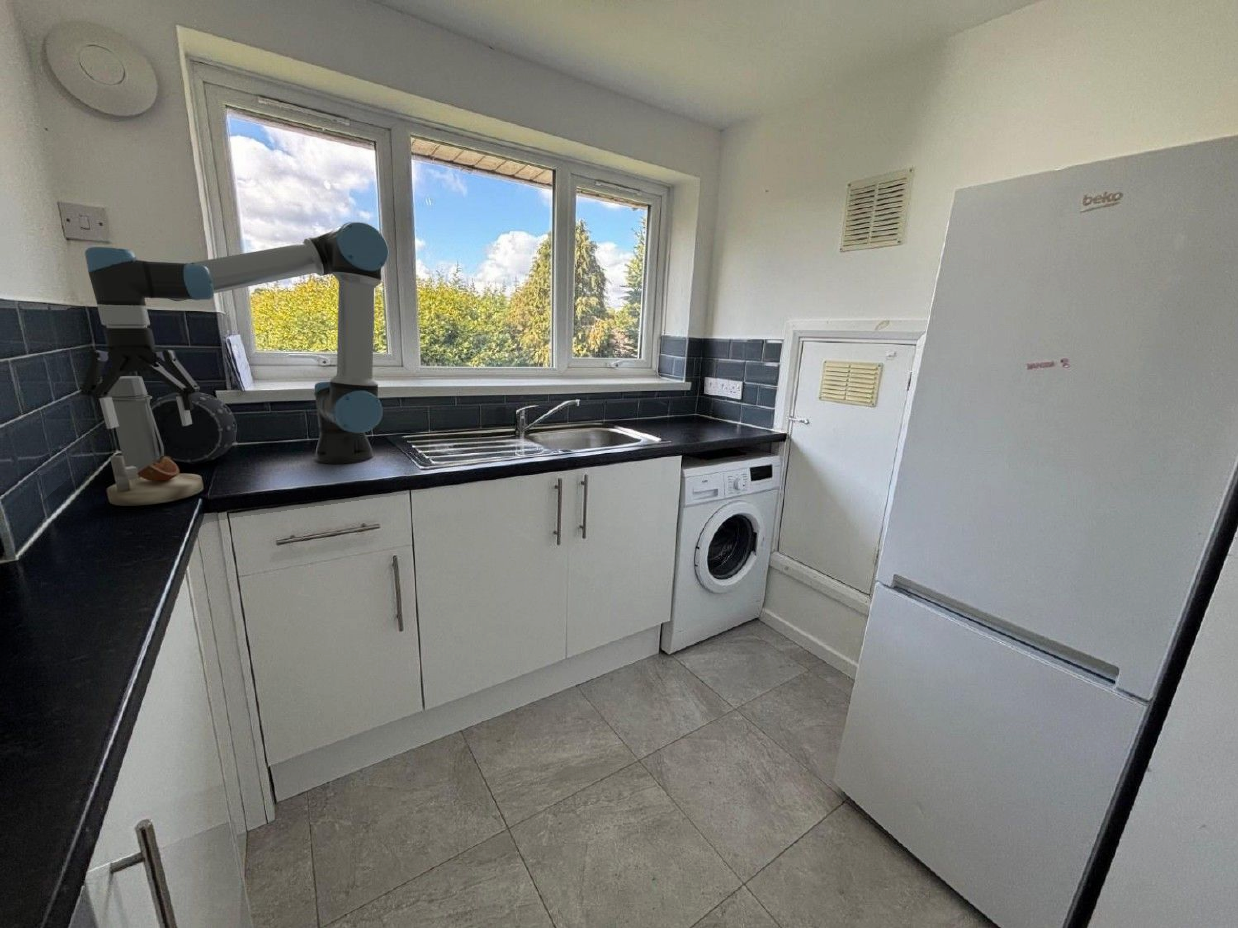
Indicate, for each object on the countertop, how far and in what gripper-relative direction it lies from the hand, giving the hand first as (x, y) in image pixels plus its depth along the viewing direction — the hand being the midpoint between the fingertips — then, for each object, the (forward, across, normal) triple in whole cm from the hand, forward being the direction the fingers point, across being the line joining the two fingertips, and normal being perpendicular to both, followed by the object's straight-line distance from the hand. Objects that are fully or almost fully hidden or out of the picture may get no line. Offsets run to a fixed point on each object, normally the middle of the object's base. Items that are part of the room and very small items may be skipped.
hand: (150, 426), depth 114 cm
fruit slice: (+13, +1, 0) cm, 13 cm away
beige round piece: (+15, +2, +1) cm, 15 cm away
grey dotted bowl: (+17, +7, -32) cm, 37 cm away
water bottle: (+16, +13, -20) cm, 29 cm away
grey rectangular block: (+16, +10, -8) cm, 21 cm away
